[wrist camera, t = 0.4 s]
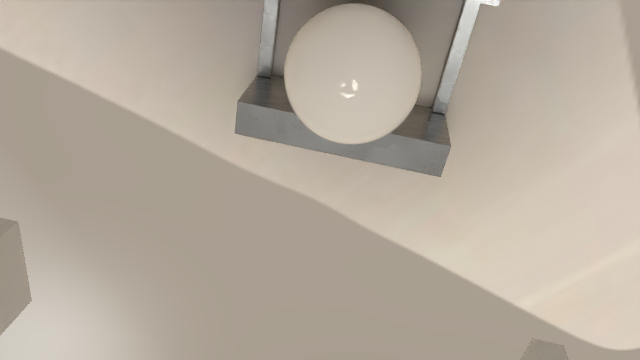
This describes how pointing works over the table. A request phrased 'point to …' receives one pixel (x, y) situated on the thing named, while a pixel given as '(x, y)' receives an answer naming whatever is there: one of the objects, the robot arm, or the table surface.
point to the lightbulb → (352, 73)
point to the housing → (391, 150)
